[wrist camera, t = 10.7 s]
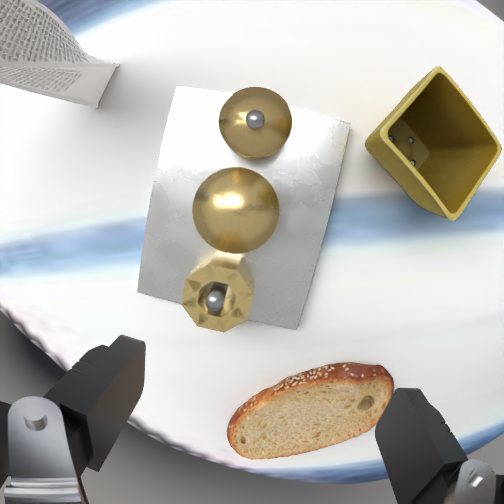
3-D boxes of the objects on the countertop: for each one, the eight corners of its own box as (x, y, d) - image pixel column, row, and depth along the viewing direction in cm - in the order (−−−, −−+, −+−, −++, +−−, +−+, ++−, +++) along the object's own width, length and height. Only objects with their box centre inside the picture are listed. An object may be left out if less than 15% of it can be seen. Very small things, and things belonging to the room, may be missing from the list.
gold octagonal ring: (258, 263, 28) (257, 274, 24) (245, 318, 29) (243, 336, 26) (197, 249, 28) (188, 259, 24) (188, 305, 29) (179, 321, 25)
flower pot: (395, 90, 25) (439, 62, 16) (450, 153, 26) (504, 148, 17) (342, 147, 27) (377, 133, 18) (403, 212, 28) (453, 225, 19)
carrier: (346, 125, 26) (365, 112, 21) (295, 324, 30) (301, 352, 25) (180, 89, 26) (162, 70, 20) (141, 288, 30) (119, 308, 25)
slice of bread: (219, 443, 35) (216, 463, 31) (262, 335, 31) (262, 354, 28) (340, 462, 36) (344, 480, 32) (403, 367, 32) (415, 385, 28)
